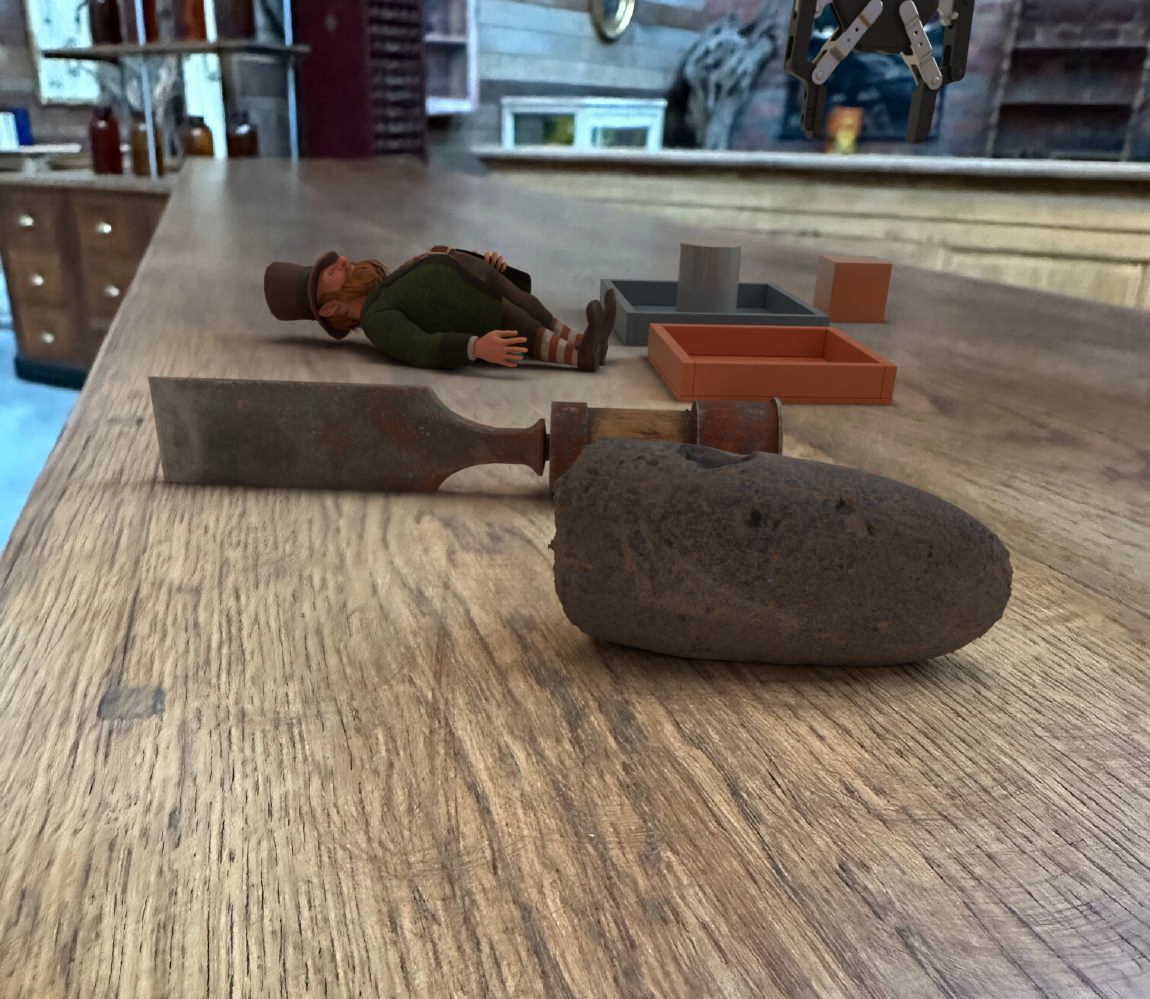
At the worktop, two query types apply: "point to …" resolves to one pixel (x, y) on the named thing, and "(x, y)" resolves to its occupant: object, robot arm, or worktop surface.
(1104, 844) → the worktop surface
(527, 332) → the leprechaun
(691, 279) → the stone cylinder
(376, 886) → the worktop surface
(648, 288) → the slate tray
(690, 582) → the perforated stone tool
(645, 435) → the chisel
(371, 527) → the worktop surface
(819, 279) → the clay block
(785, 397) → the terracotta tray
